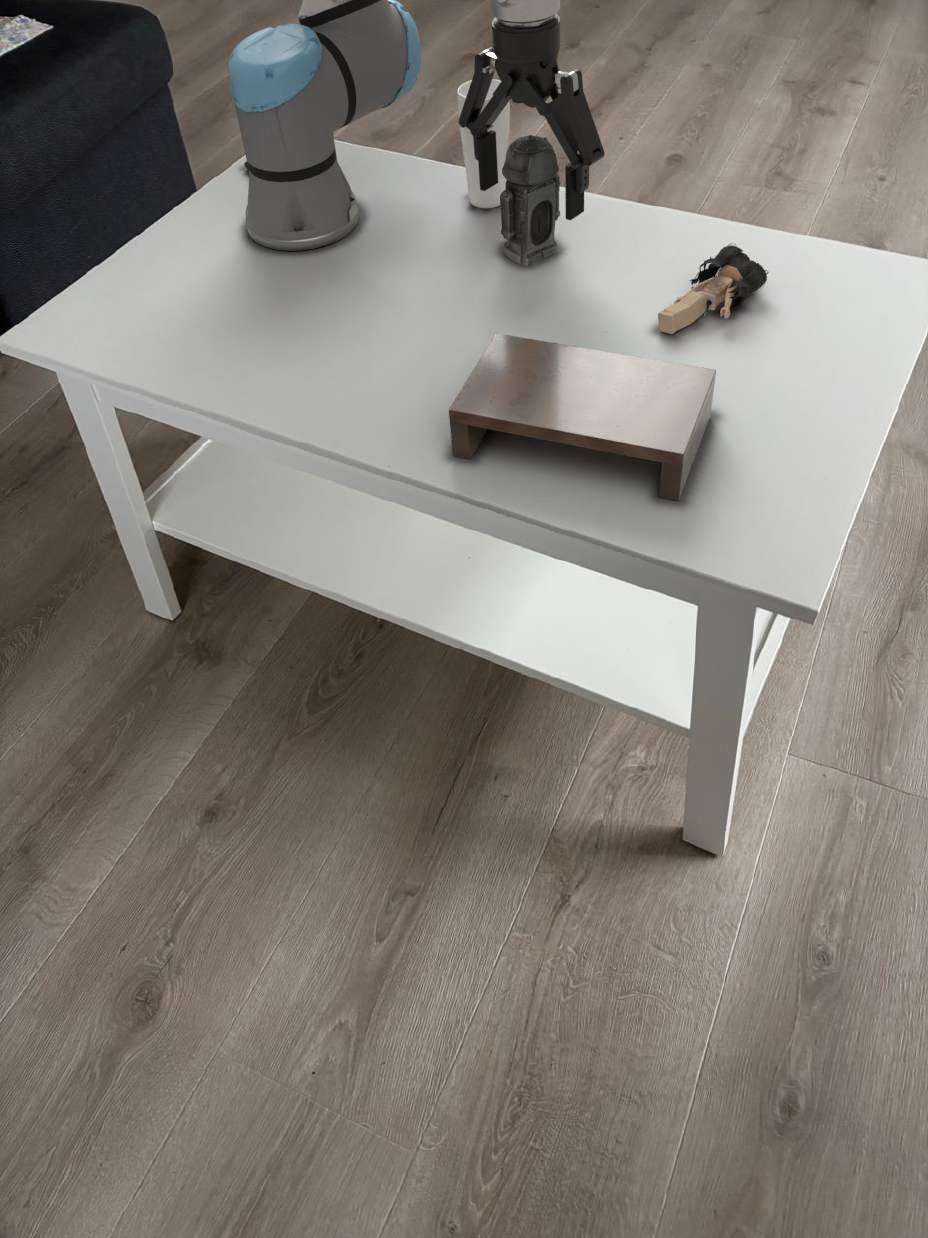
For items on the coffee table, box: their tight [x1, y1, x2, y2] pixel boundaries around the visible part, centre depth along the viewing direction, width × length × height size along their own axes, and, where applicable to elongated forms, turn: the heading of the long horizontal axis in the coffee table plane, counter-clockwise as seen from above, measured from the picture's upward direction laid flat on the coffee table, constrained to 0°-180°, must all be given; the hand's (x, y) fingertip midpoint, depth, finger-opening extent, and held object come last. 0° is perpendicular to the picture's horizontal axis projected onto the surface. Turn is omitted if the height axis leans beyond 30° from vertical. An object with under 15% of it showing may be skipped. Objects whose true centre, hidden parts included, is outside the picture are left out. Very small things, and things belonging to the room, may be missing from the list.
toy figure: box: [657, 242, 770, 335], centre depth 127 cm, size 7×6×15 cm
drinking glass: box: [456, 78, 511, 209], centre depth 144 cm, size 7×7×15 cm
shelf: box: [448, 332, 717, 502], centre depth 112 cm, size 24×14×6 cm, turn 69°
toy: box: [499, 134, 561, 267], centre depth 135 cm, size 8×6×15 cm
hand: (531, 200), depth 135 cm, fingers open, 13 cm apart
